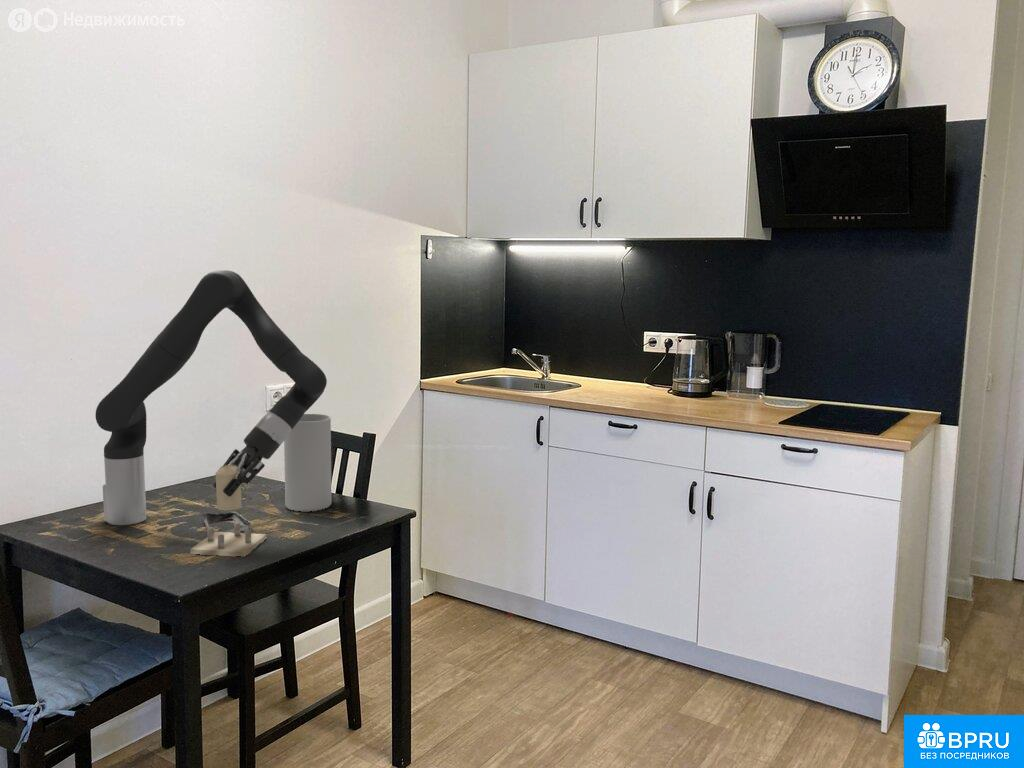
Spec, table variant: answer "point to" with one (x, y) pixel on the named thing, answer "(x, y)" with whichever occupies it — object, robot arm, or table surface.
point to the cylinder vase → (308, 464)
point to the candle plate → (228, 543)
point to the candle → (222, 481)
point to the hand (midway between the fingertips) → (221, 491)
